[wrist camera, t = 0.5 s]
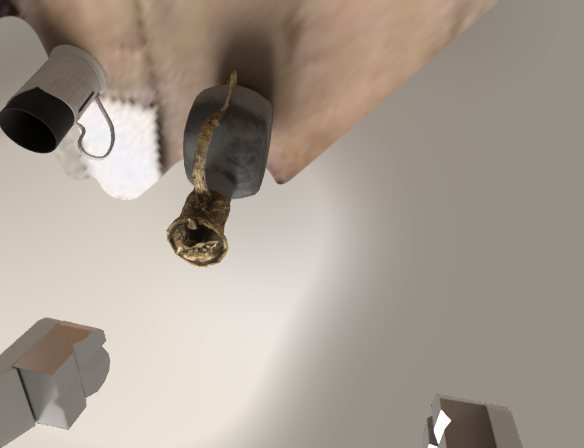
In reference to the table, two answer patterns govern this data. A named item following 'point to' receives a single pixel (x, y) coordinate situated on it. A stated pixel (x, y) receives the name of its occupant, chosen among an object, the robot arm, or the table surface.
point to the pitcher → (220, 166)
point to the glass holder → (56, 101)
